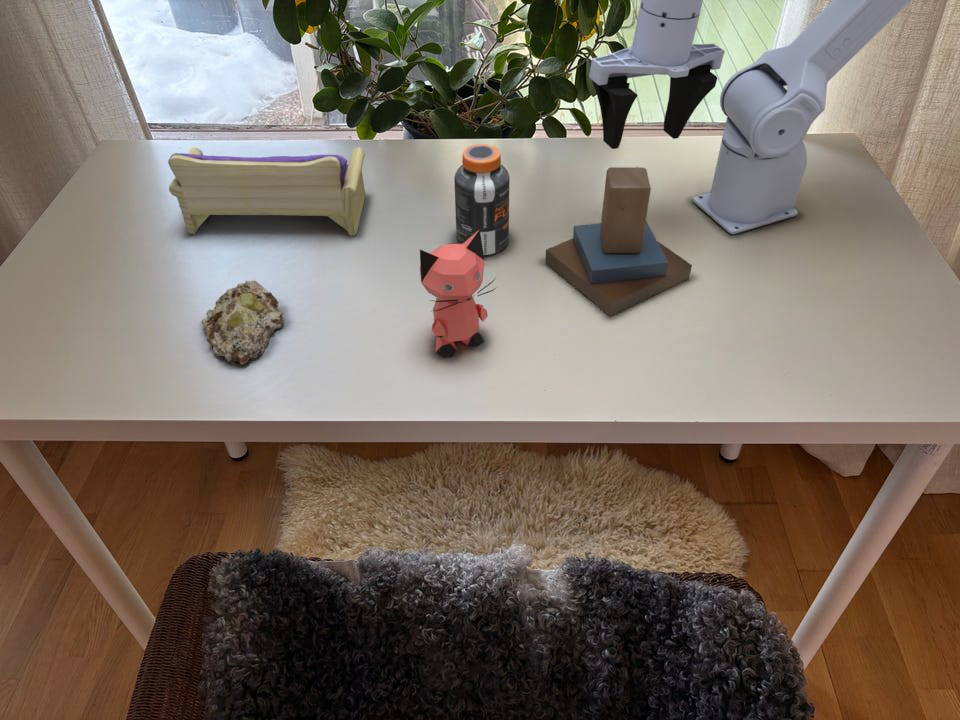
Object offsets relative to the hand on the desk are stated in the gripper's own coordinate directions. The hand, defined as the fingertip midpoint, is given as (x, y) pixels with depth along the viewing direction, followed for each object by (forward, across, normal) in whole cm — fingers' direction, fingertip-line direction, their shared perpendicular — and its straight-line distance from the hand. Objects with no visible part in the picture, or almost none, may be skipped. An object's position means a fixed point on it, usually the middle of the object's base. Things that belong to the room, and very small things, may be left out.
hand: (641, 139), depth 83 cm
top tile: (+9, -6, -8) cm, 13 cm away
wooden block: (+7, -6, -8) cm, 12 cm away
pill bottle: (+12, -16, +3) cm, 21 cm away
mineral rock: (+14, -44, -1) cm, 46 cm away
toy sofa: (+14, -36, +18) cm, 43 cm away
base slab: (+11, -5, -8) cm, 14 cm away
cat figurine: (+12, -25, -11) cm, 30 cm away
